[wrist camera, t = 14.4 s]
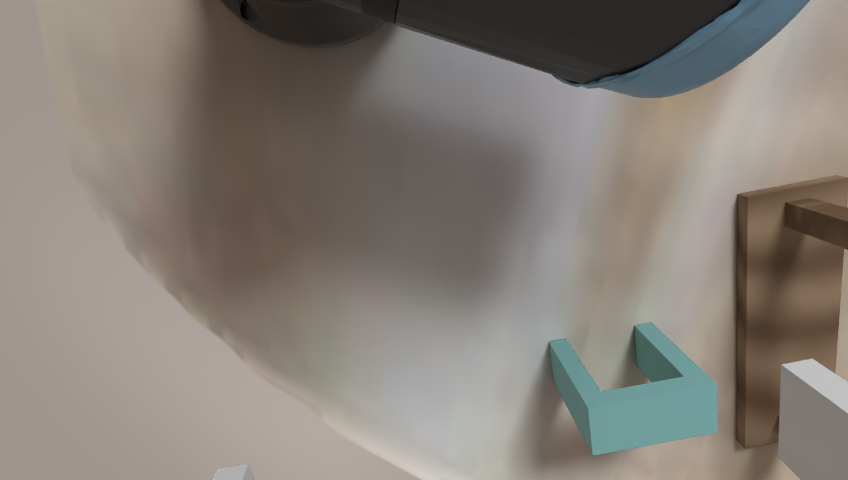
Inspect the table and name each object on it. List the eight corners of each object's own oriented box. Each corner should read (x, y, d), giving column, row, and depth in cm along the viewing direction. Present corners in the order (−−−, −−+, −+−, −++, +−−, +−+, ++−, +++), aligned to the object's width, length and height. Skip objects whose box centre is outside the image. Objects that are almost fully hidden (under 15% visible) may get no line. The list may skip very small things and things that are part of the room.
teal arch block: (548, 341, 44) (588, 408, 35) (651, 322, 44) (717, 384, 35) (553, 381, 45) (592, 455, 36) (653, 362, 45) (717, 432, 36)
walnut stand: (738, 193, 41) (885, 241, 29) (836, 175, 41) (1027, 215, 29) (736, 439, 48) (854, 563, 36) (820, 424, 48) (967, 542, 36)
